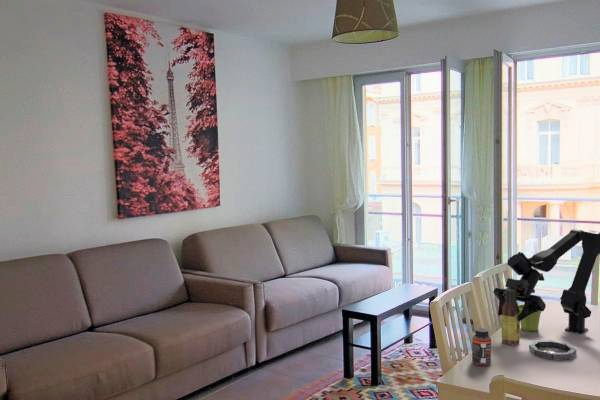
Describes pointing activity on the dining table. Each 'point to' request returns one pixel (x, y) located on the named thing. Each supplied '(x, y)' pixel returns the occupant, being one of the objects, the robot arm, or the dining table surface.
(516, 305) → the sauce bottle
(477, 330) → the supplement bottle
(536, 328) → the plant pot
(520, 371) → the dining table surface
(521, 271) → the robot arm
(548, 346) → the dark grey octagonal tray
